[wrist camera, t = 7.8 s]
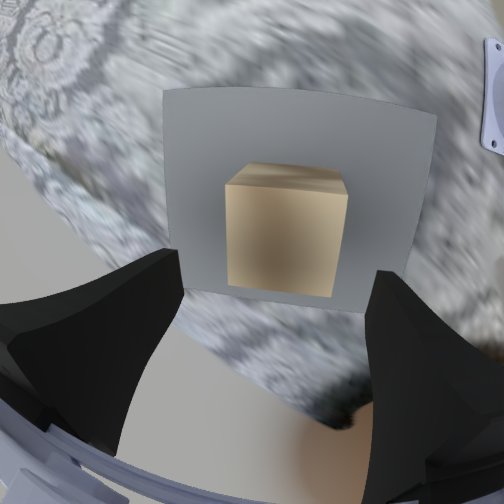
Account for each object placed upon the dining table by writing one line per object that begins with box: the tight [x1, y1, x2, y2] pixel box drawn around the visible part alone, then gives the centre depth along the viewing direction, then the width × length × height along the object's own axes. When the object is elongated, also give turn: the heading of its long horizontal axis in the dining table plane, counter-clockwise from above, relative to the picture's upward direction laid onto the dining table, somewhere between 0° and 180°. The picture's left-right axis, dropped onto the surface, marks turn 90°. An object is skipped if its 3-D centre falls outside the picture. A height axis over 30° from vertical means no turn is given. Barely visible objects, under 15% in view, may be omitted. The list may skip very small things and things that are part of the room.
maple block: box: [225, 162, 348, 297], centre depth 15 cm, size 5×5×5 cm
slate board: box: [163, 87, 437, 313], centre depth 17 cm, size 16×14×1 cm
